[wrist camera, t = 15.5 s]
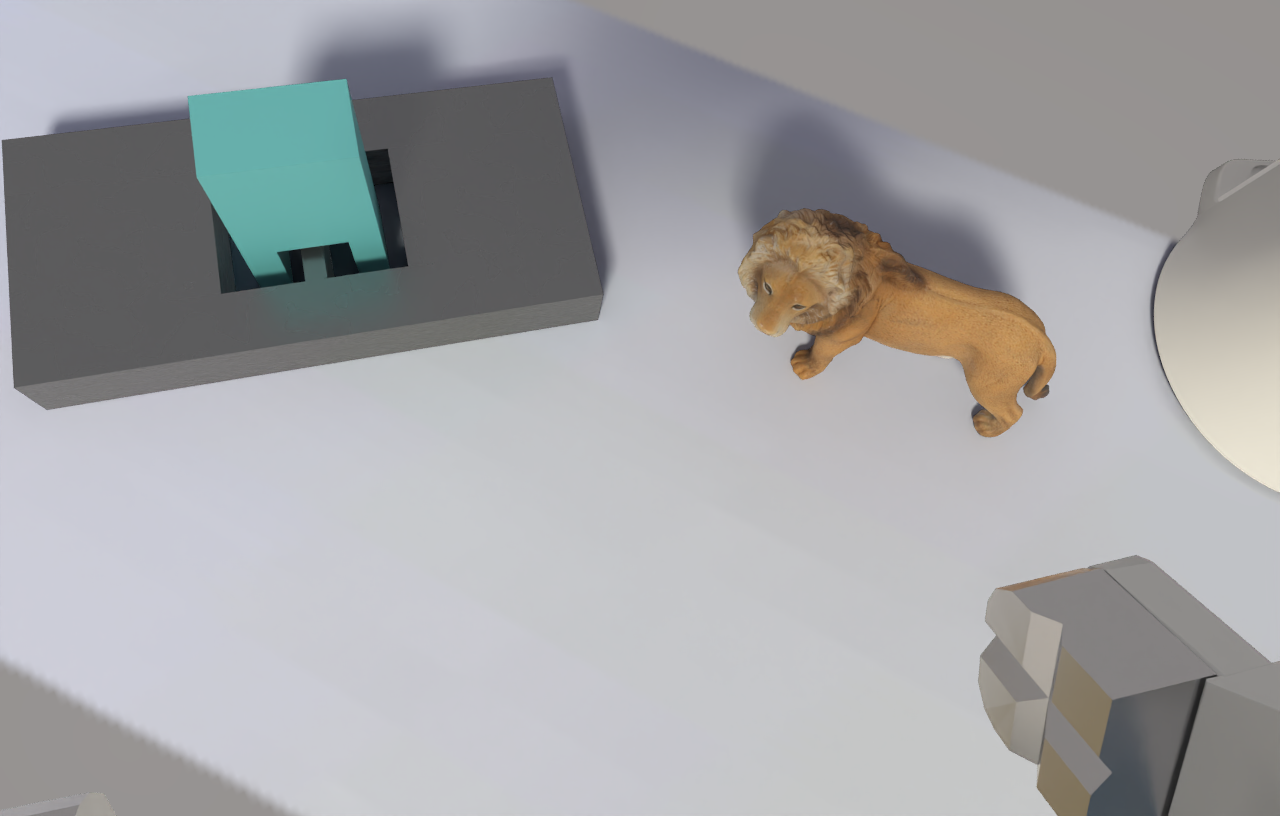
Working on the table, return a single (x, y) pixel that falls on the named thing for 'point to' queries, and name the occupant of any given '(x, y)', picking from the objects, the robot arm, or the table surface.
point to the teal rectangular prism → (288, 174)
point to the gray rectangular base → (322, 305)
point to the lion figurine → (892, 310)
